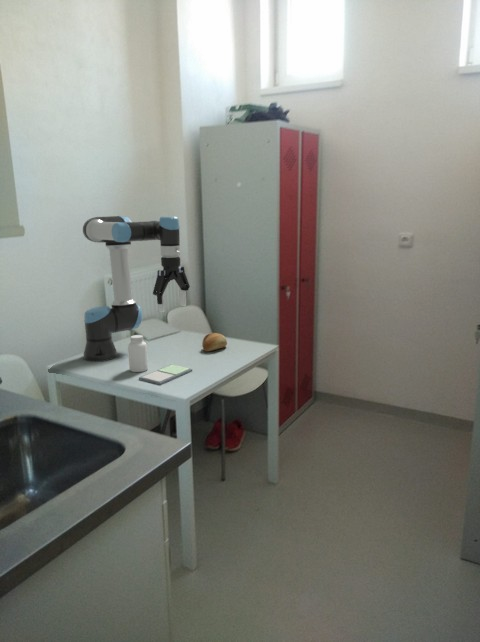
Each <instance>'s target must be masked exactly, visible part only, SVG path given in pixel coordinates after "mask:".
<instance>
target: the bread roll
mask: <svg viewBox="0 0 480 642" xmlns="http://www.w3.org/2000/svg"><path fill="white" fill-rule="evenodd" d="M201 344H202V345H201V346H202V349H203V351H204V352H211V351H216V350H219V349H223V348H225V347H227V345H228V341H227V338H226V337H225V335H223V334H221V333H218V332H211V333H210V332H209V333H207V334H205V336H204V337H203V339H202V343H201Z"/></svg>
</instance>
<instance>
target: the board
mask: <svg viewBox="0 0 480 642" xmlns="http://www.w3.org/2000/svg"><path fill="white" fill-rule="evenodd" d="M192 372H193V368H190V367H184V366H180V365H175V364H170V365H167V366H164V367H162V368H160V369H157V370H153V371H152V372H149V373H146V374H144V375H142V376H139V377H138V380H140V381H144V382H147V383H152V384H156V385H160V386H162V385H164V384H166V383H168V382H170V381H173V380H175V379H178V378H180V377H182V376H184V375H186V374H188V373H189V374H190V373H192Z"/></svg>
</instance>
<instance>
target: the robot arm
mask: <svg viewBox="0 0 480 642" xmlns="http://www.w3.org/2000/svg"><path fill="white" fill-rule="evenodd" d="M179 222H180V221H179V217H177V216H161V217H159V219H158V220H149V221H132V220H131V218H129V217H127V216H123V215H116V216H115V215H113V216H110V215H109V216H95V217H91V218H89V219H87V220H86V221H85V222H84V224H83V225H82V233H83V236H84V238H85V239H86V240H88V241H89V242H92V243H93V242H94V243H97V244H98V243H102V244H103V243H104V244H105V247H106V248H107V249H108V251H109V259H110V268H111V269H110V271H111V279H112V290H113V298H114V299H113V301H112V302H111V307H110V306H108V305H99V306H94V307H91V308H89V309H87V310H86V311H85V312H84V320H83V322H84V329H85V339H86V341H85V342H86V343H85V347H84V351H83V359H84V360H86V361H88V362H104V361H108V360H112V359H114V358H116V357H117V356H118V354H117V353H118V351H117V349H116V347H115V344H114V342H113V341H114V340H113V336H112V335H113V334H114V333H115V334H116V333H119V332H127V331H131V330H136V329H138V328H139V327H140V325H141V324H142V320H143V312H142V311H143V310H142V308H141V306H140V305H138V304H137V301H136V300H135V299H133V291H132V289H133V288H132V277H131V265H130V254H129V248H130V247H131V245H132V242H145V241H159V242H160V256H161V257H160V260H161V264H160V265H161V266H162V269H163V270H161V269H158V270H157V276H156V278H155V279H156V280H155V284H154V287H153V290H152V295H154V296H156V303H157V307H158V311H157V312H159V313H166V307H165V306H166V305H165V304H166V303H165V295H164V293H165V290H166V289H167V286H168V285H169V283H170V282H171V281H173V280H174V281H175V283H176V284H177V285H178V287H179V288H180V290H179V306H181V307H187V291H189V289H190V287H191V286H190V283H189V281H188V278H187V276H186V273H185V267H184V266H181V257H180V255H181V251H180V250H181V249H180V248H181V247H180V246H181V245H180V223H179Z"/></svg>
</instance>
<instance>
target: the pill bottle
mask: <svg viewBox="0 0 480 642" xmlns="http://www.w3.org/2000/svg"><path fill="white" fill-rule="evenodd" d="M127 351H128V352H127V353H128V366H129V371H130V372H132V373H142V372H145V371H147V370H148V369H149V360H148V346H147V343H146V342H145V341H144V336H143V335H141V334H135V335H131V336H130V342H129V343H128V344H127Z"/></svg>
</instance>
